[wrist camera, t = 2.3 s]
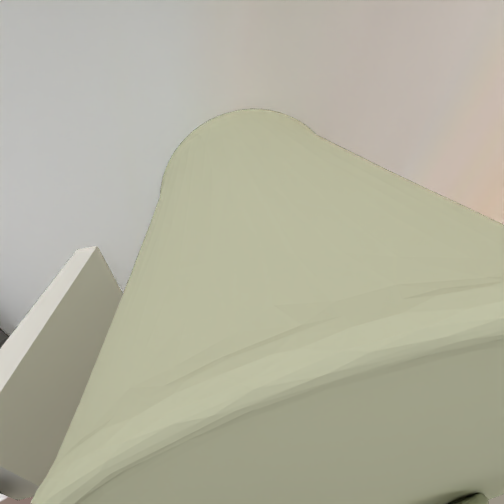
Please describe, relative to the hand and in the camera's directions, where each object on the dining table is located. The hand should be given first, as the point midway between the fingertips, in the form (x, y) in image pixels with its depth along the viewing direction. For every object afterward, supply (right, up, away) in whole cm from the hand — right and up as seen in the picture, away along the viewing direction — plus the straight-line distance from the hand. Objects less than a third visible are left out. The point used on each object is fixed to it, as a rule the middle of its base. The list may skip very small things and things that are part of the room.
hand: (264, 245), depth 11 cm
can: (-1, +2, +3) cm, 4 cm away
